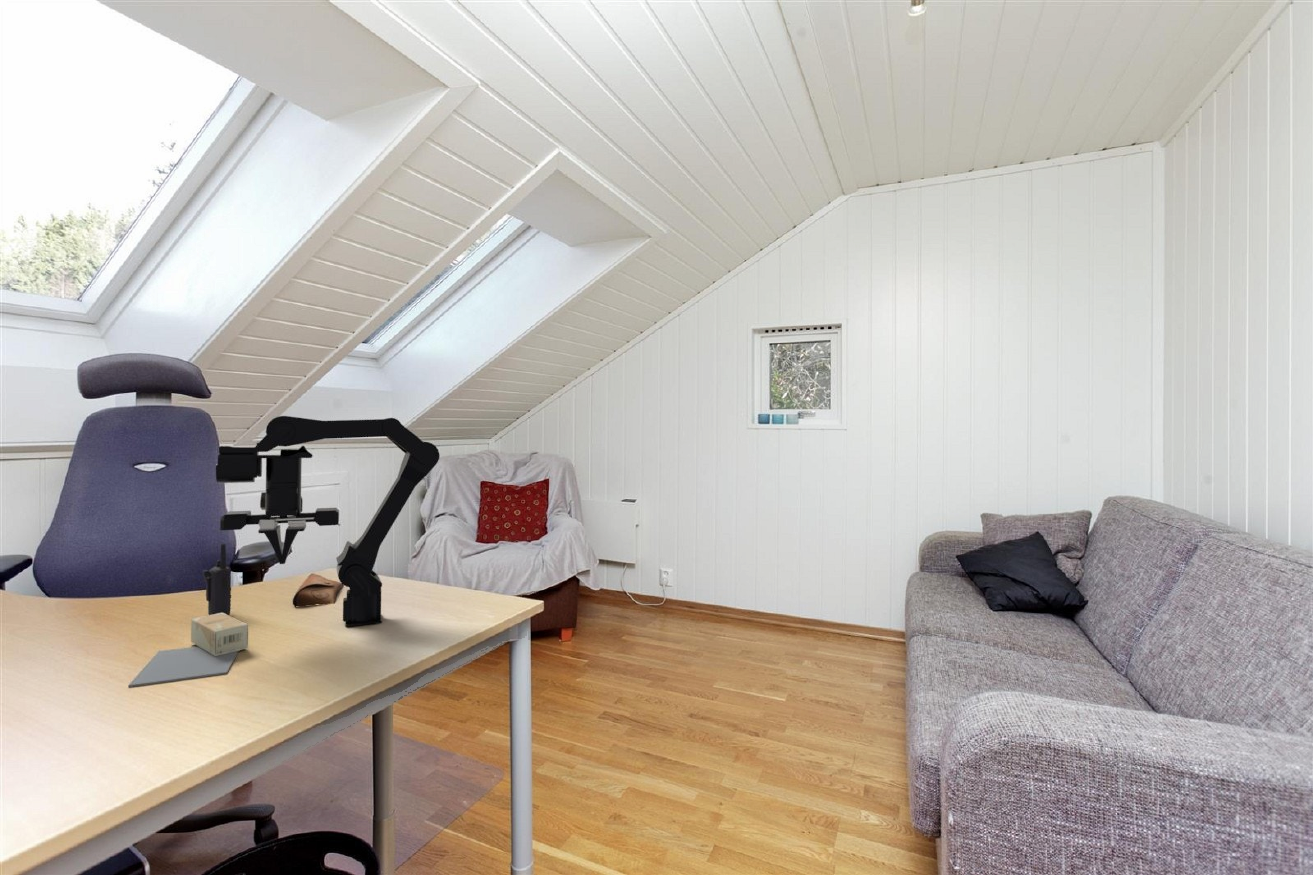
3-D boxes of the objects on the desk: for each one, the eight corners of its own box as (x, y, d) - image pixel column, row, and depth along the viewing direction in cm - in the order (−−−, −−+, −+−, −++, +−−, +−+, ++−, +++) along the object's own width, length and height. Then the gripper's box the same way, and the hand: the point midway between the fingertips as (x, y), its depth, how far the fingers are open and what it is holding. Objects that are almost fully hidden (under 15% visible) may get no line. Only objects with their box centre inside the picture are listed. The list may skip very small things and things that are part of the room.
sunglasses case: (336, 603, 131) (319, 578, 130) (305, 622, 129) (287, 597, 127) (344, 583, 148) (329, 561, 146) (316, 600, 145) (300, 578, 144)
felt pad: (243, 642, 107) (243, 641, 107) (226, 673, 93) (226, 671, 93) (158, 652, 101) (158, 651, 101) (128, 687, 88) (128, 685, 88)
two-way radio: (232, 616, 121) (233, 543, 121) (206, 621, 117) (207, 546, 117) (225, 611, 124) (226, 540, 124) (198, 615, 121) (199, 542, 121)
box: (214, 631, 99) (188, 619, 105) (214, 657, 99) (188, 643, 105) (250, 623, 103) (223, 611, 109) (250, 648, 103) (223, 634, 109)
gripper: (340, 477, 124) (339, 552, 124) (232, 479, 115) (231, 559, 115) (338, 482, 114) (337, 563, 114) (220, 484, 105) (219, 571, 105)
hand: (282, 563), depth 112 cm, fingers closed
